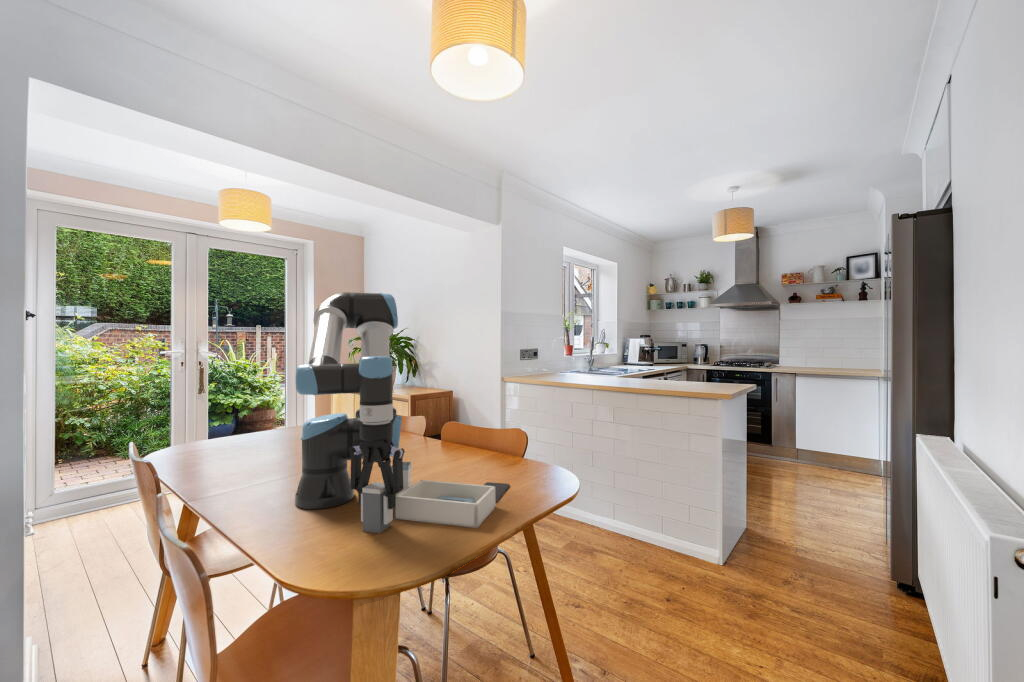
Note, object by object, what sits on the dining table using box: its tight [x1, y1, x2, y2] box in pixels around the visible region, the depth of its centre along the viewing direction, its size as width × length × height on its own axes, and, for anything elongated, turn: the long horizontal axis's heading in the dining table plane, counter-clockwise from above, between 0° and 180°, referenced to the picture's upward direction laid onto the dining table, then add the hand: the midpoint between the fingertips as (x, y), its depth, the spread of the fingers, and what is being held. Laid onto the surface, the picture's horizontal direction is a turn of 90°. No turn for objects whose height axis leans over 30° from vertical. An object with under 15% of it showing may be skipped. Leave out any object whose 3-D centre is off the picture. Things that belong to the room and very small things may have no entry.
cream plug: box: [391, 461, 412, 496], centre depth 121 cm, size 5×5×10 cm
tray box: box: [395, 479, 497, 529], centre depth 112 cm, size 22×14×6 cm, turn 74°
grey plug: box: [362, 481, 392, 534], centre depth 103 cm, size 5×5×10 cm
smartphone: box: [483, 481, 510, 504], centre depth 127 cm, size 8×1×16 cm
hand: (376, 520), depth 103 cm, fingers open, 5 cm apart
